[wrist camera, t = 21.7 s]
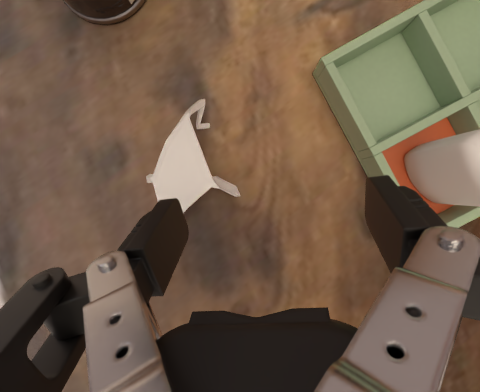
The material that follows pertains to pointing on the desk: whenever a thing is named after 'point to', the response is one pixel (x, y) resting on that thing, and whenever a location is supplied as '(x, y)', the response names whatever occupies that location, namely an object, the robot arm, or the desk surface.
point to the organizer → (408, 89)
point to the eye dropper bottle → (447, 169)
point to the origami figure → (186, 164)
